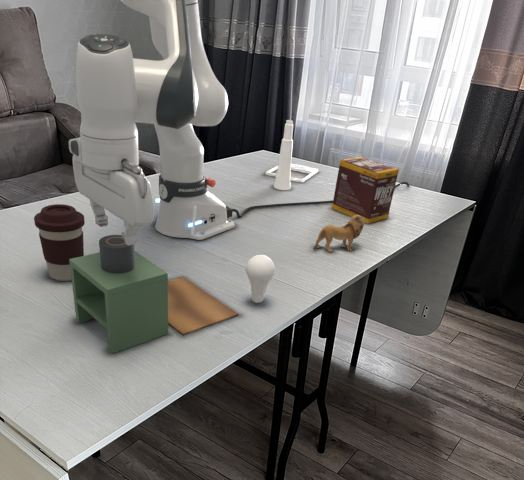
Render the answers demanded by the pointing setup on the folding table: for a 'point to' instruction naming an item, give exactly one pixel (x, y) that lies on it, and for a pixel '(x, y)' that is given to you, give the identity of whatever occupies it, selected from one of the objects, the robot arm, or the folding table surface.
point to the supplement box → (364, 188)
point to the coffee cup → (60, 238)
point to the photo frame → (297, 168)
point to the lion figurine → (342, 233)
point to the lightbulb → (259, 275)
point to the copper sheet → (193, 307)
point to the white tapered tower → (285, 159)
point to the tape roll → (116, 254)
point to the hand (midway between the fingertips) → (115, 234)
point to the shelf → (121, 299)
